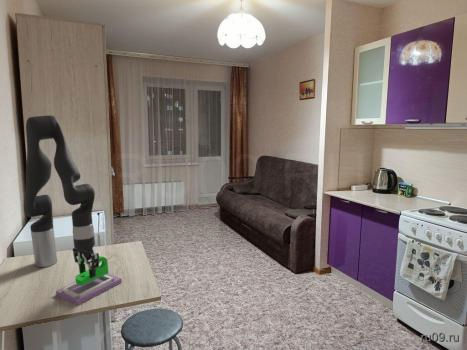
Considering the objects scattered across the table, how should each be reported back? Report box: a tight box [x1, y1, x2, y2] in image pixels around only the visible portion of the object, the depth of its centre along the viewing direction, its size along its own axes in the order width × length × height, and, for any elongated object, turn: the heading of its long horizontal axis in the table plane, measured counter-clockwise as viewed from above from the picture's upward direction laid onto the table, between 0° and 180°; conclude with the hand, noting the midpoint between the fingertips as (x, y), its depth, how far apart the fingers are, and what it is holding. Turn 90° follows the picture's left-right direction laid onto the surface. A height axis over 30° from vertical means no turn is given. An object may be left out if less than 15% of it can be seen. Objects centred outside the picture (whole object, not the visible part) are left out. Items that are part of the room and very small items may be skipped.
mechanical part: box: [75, 255, 109, 286], centre depth 130 cm, size 12×6×8 cm, turn 147°
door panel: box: [55, 272, 123, 306], centre depth 132 cm, size 14×20×3 cm
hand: (87, 275), depth 130 cm, fingers closed on mechanical part, 6 cm apart
